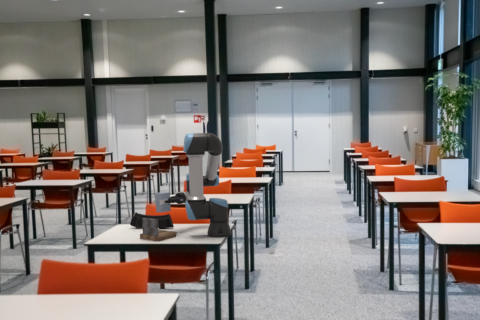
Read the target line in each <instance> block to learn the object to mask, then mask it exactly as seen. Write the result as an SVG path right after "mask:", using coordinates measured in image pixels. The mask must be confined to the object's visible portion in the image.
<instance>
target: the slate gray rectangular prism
mask: <svg viewBox="0 0 480 320" xmlns="http://www.w3.org/2000/svg"><path fill="white" fill-rule="evenodd" d="M170 197H171V192H170V191H162V192H161V191H160V192H155V199H156V204H155V212H156V213H167V212H171V210H172V208H171V205H172V203H168V204H162V205H160V200H165V199H168V198H170Z"/></svg>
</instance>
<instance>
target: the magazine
mask: <svg viewBox="0 0 480 320" xmlns="http://www.w3.org/2000/svg"><path fill="white" fill-rule="evenodd" d="M142 218H150V219H158V228H164V229H170V228H174V227H175V225H174V222H173V219H172V216H171V214H170V213H167V214H162V215H151V214H150V215H149V214H142V213H138V212H134V213H133V216H132V218H131V219H130V223H129V225H130V226H131V227H133V228H136V229H143V226H142Z"/></svg>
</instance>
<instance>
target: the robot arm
mask: <svg viewBox="0 0 480 320" xmlns="http://www.w3.org/2000/svg"><path fill="white" fill-rule="evenodd" d="M223 149H224V148H223V143H222V140H221V139H220V138H219V136H218V135H216V134H214V133H211V132H202V133H201V132H198V133H197V132H195V133H194V132H192V133H186V134H185V136H184V140H183V153H185V156H186V157H187V158H188V172H187V174H186V175H185V177H186V178H185V181H186V182H185V184H186V187H185V188H186V191H181V192H177V193H175V195H173V196H170V198H168V199H165V200H160V205H162V204H168V203H171V204H175V203H176V204H177V205H182V204H185V205H184V206H185V212H186V213H185V214H186V216H187V219H188V220H189V221H199V220H209V226H208V229H207V237H211V238H225V237H229V236H231V235H232V230H231V227H230V224H229V203H228V200H227V199H225V198H220V197H210V198H209V199H208V200H207V198H206V196H205V195H204V187H206V188H207V187H217V186H219V185H220V177H219V175H218V170H219V169H218V168H219V163H220V158H221V154H222V153H223ZM206 152H207V153H208V154H207V162H206V170H205V175H203V174H204V170H203V166H204V165H203V163H204V162H203V158H204V156H205V155H206V154H205V153H206ZM152 202H153V205H156V198H155V199H153V201H152Z"/></svg>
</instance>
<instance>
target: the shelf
mask: <svg viewBox="0 0 480 320" xmlns="http://www.w3.org/2000/svg"><path fill="white" fill-rule="evenodd" d="M142 226H143V228H142V233H140V234H139V239H140V240H147V241H152V242H153V241H154V242H162V241H166V240H169V239H173V238H176V236H177V234H178V233H177V231H172V230H164V229H158V219H150V218H142Z"/></svg>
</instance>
